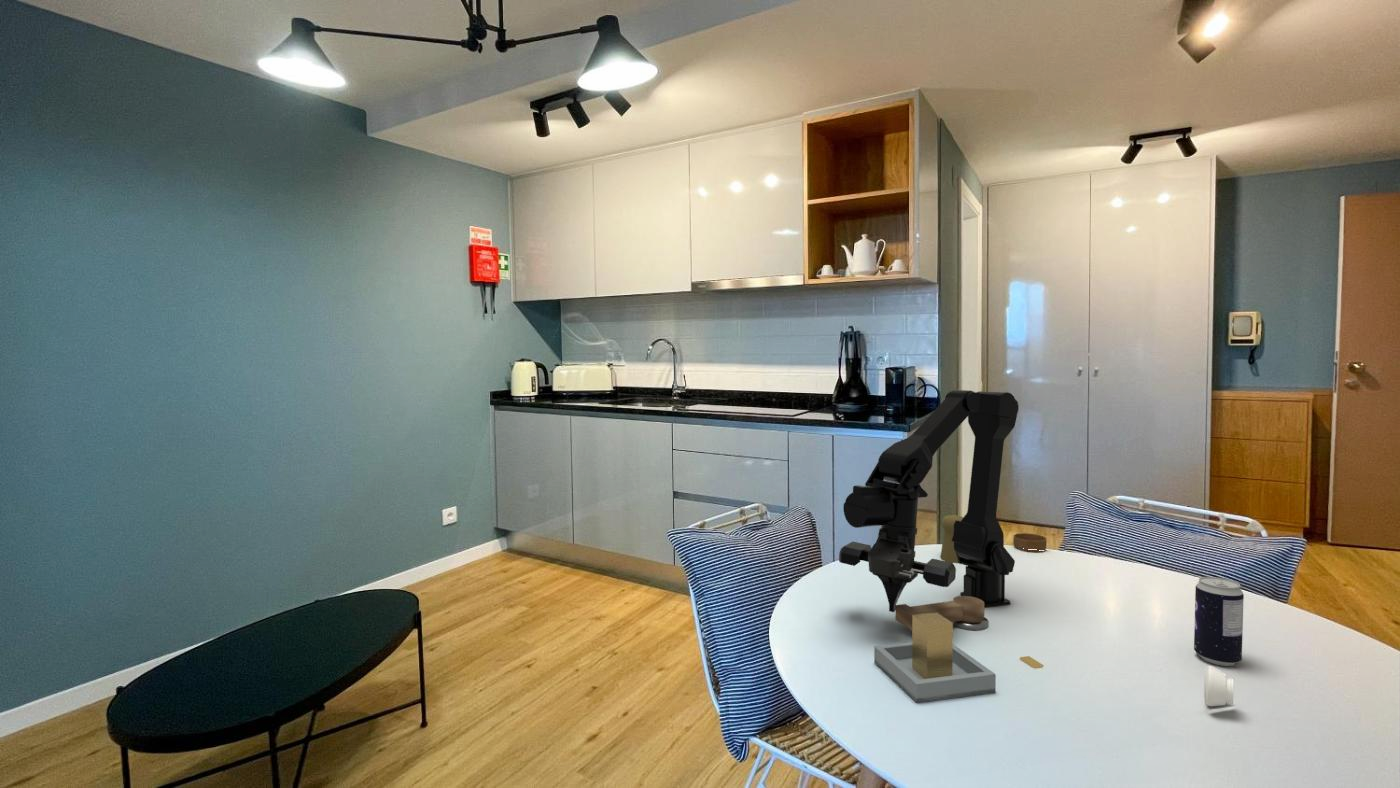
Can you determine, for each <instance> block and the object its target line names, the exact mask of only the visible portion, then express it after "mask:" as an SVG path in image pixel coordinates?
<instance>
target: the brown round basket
mask: <svg viewBox="0 0 1400 788" xmlns="http://www.w3.org/2000/svg"><path fill="white" fill-rule="evenodd" d="M1012 537H1013V539H1012V540H1013V547H1014V549H1015V550H1018V551H1020V552H1024V553H1025V552H1026V553H1034V554H1036V553H1037V554H1040V553H1044V552H1045V551H1046V550H1047V537H1045V536H1043V535H1040V534H1037V533H1036V534H1035V533H1027V532H1025V533H1024V532H1023V533H1015V534H1013V536H1012ZM1023 548H1024V549H1023ZM1028 549H1037V550H1028ZM1039 550H1045V551H1039Z"/></svg>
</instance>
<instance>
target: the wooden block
mask: <svg viewBox="0 0 1400 788" xmlns="http://www.w3.org/2000/svg"><path fill="white" fill-rule="evenodd" d="M953 629H954V626H953V623H952V622H951V621H949V620H948V619H946V618H945V617H943V616H942V615H940V614H939V613H927V614H916V615H912V631H911V632H912V635H911V638H912V639H911V640H912V641H911V642H912V668H913V669H914V670H915V671H916V672H917V673H918V674H919V675H921V676H922V677H923V678H924V679H929V678H937V677H946V676H952V667H953V644H954V643H953V641H954V640H953V637H954V634H953V633H954V632H953V631H954V630H953Z"/></svg>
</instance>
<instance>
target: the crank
mask: <svg viewBox="0 0 1400 788" xmlns="http://www.w3.org/2000/svg"><path fill="white" fill-rule="evenodd" d="M927 613H939V614H940V615H942V616H943V617H945V618H946V619H948V620H949V621H951V622H955V621H965V622H972V623H976V622H982V621H983V620H984V617H985V606H984V601H982V600H981V599H978V598H975V597H970V596H961V595H959V596H958V595H957V596H955V597H953V599H952V600H948V601H943V602H942V601H941V602H935V603H926V604H921V605H912V606H910V605H908V604H906V603H903V604H896V610H895V621H896V622H898V623H899V624H900V625H903V626H904V627H905V628H907V629H909V630H910V631H911V632H912V615H916V614H927Z"/></svg>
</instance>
